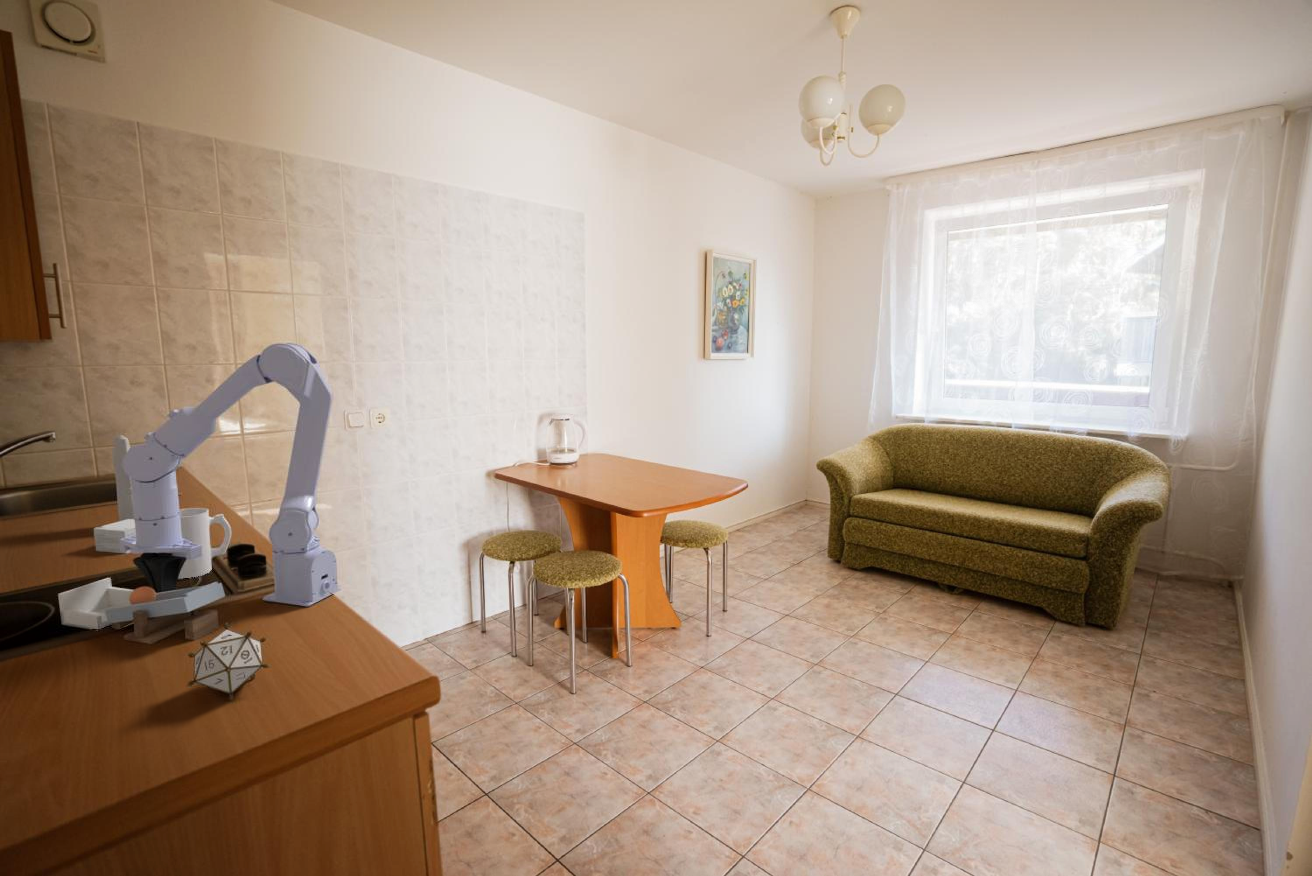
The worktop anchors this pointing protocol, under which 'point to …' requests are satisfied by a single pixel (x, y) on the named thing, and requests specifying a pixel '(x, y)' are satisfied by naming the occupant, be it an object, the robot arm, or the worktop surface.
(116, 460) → the tall pale column
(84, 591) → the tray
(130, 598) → the ball
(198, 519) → the mug
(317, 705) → the worktop surface
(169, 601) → the lever
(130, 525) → the small box
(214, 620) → the fulcrum
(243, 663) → the game die
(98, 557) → the worktop surface
